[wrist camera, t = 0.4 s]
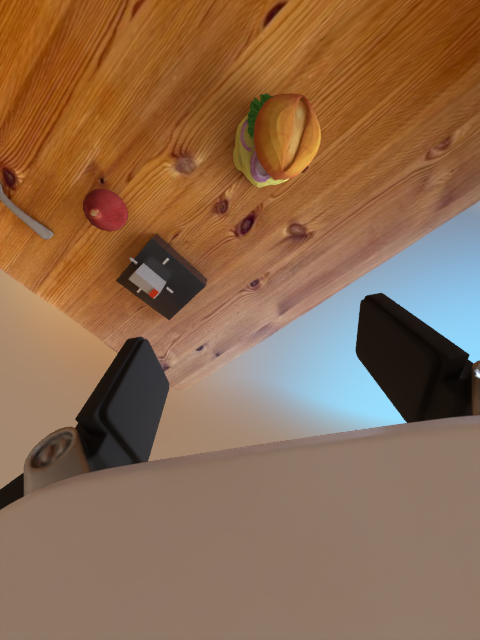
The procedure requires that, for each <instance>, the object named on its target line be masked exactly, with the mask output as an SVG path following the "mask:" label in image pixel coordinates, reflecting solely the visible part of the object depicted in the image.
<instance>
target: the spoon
mask: <svg viewBox="0 0 480 640" xmlns="http://www.w3.org/2000/svg"><path fill="white" fill-rule="evenodd" d="M0 200H1V201H2V202H3V203H4V204H5V205H6V206H7V207H8V208H9V209H10V210H11V211H12V212H13V213H14V214H15V215H17V216H18V217H19V218H20V219H21V220H22V221H24V222H25V223H26V224H27V225H28V226H30V227H31V228H32V229H33V230H34V231H35V232H36V233H37V234H38V235H40V236H41V237H42V238H43V239H46V240H47V239H49V238H51V237H52V236H53V233H52V232H51V231H50V230H49V229H47V228H46V227H44V226H43V225H41V224H40V223H38V222H37V221H35V220H34V219H33V218H31V217H30V216H28V215H27V214H26V213H25V212H23V211H22V210H21V209H19V208H18V207H17V206H16V205H15V204H13V203H12V202H11V201H10V200H9V199H8V198H7V197H6V195H5V194H4V193H3V190H2V185H1V183H0Z"/></svg>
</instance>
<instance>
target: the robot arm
mask: <svg viewBox="0 0 480 640" xmlns="http://www.w3.org/2000/svg"><path fill="white" fill-rule="evenodd" d="M356 354H357V357H358V358H359V360H360V361H361V362H362V364H363V365H364V366H365V367H366V369H367V370H368V372H369V373H370V374H371V376H372V377H373V378H374V380H375V381H376V382H377V383H378V385H379V386H380V388H381V389H382V390H383V392H384V393H385V394H386V396H387V397H388V398H389V400H390V401H391V402H392V403H393V405H394V406H395V408H396V409H397V410H398V412H399V413H400V414H401V416H402V417H403V418H404V420H405V421H406V422H407V423H404V424H397V425H391V426H383V427H376V428H369V429H362V430H355V431H348V432H341V433H335V434H327V435H320V436H314V437H307V438H301V439H294V440H286V441H280V442H273V443H266V444H260V445H253V446H246V447H240V448H233V449H227V450H220V451H213V452H207V453H200V454H194V455H187V456H181V457H175V458H168V459H162V460H155V461H149V462H148V459H149V456H150V453H151V449H152V446H153V442H154V439H155V435H156V432H157V429H158V425H159V422H160V418H161V415H162V411H163V408H164V404H165V401H166V398H167V394H168V391H169V382H168V380H167V378H166V375H165V373H164V371H163V369H162V367H161V365H160V363H159V361H158V359H157V357H156V355H155V353H154V351H153V349H152V347H151V345H150V343H149V341H148V340H147V339H144V338H143V337H137V338H131V339H128V340H127V341H126V342H125V344H124V345H123V347H122V348H121V350H120V351H119V353H118V354H117V356H116V357H115V359H114V360H113V362H112V364H111V365H110V367H109V368H108V370H107V371H106V373H105V374H104V376H103V377H102V379H101V380H100V382H99V383H98V385H97V387H96V388H95V390H94V391H93V393H92V394H91V396H90V397H89V399H88V400H87V402H86V403H85V405H84V407H83V408H82V410H81V411H80V413H79V414H78V416H77V417H76V421H77V422H78V424H77V426H76V428H73V427H65V428H61V429H58V430H56V431H55V432H53V433H51V434H49V435H48V436H47V437H45V438H44V439H42V440H41V441H40V442H39V443H38V444H37V445H36V446H35V447H34V448H33V450H32V451H31V452H30V453H29V455H28V457H27V459H26V460H25V464H24V473H23V474H21V475H20V476H18V477H17V478H16V479H14V480H13V481H11V482H10V483H9V484H7V485H6V486H5V487H3V488H2V489H0V640H480V361H477V362H476V363H474V364H473V363H472V362H471V361H469V360H468V357H469V354H468V353H466V352H465V351H464V350H462V349H461V348H459V347H458V346H457V345H455V344H454V343H452V342H451V341H449V340H448V339H447V338H445V337H444V336H442V335H441V334H439V333H438V332H437V331H435V330H434V329H432V328H431V327H430V326H428V325H427V324H425V323H424V322H423V321H421V320H420V319H418V318H417V317H416V316H414V315H413V314H411V313H410V312H408V311H407V310H406V309H404V308H403V307H401V306H400V305H399V304H397V303H396V302H394V301H393V300H391V299H390V298H388V297H387V296H386V295H384V294H383V293H378V294H373V295H367V296H365V298H364V300H362V301H361V304H360V312H359V322H358V332H357V341H356Z"/></svg>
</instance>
